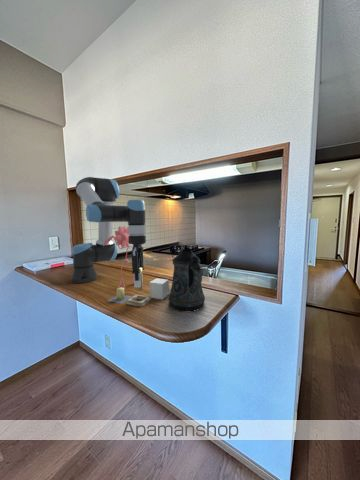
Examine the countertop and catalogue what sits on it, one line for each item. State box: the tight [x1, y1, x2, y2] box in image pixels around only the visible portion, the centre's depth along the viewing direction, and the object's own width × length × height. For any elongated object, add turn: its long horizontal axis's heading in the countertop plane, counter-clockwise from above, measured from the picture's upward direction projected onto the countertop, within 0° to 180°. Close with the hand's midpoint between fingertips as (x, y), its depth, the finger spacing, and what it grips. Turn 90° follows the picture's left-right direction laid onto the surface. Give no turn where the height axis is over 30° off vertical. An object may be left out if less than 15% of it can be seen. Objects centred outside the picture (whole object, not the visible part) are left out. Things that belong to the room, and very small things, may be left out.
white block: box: [149, 277, 170, 300], centre depth 100 cm, size 7×7×8 cm
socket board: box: [126, 294, 152, 307], centre depth 93 cm, size 8×8×2 cm
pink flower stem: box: [103, 225, 147, 291], centre depth 116 cm, size 15×26×35 cm, turn 141°
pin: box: [134, 267, 144, 292], centre depth 92 cm, size 4×4×10 cm
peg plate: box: [107, 286, 133, 305], centre depth 97 cm, size 9×9×5 cm
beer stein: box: [167, 249, 206, 312], centre depth 89 cm, size 16×19×25 cm
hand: (138, 285), depth 92 cm, fingers closed on pin, 3 cm apart
